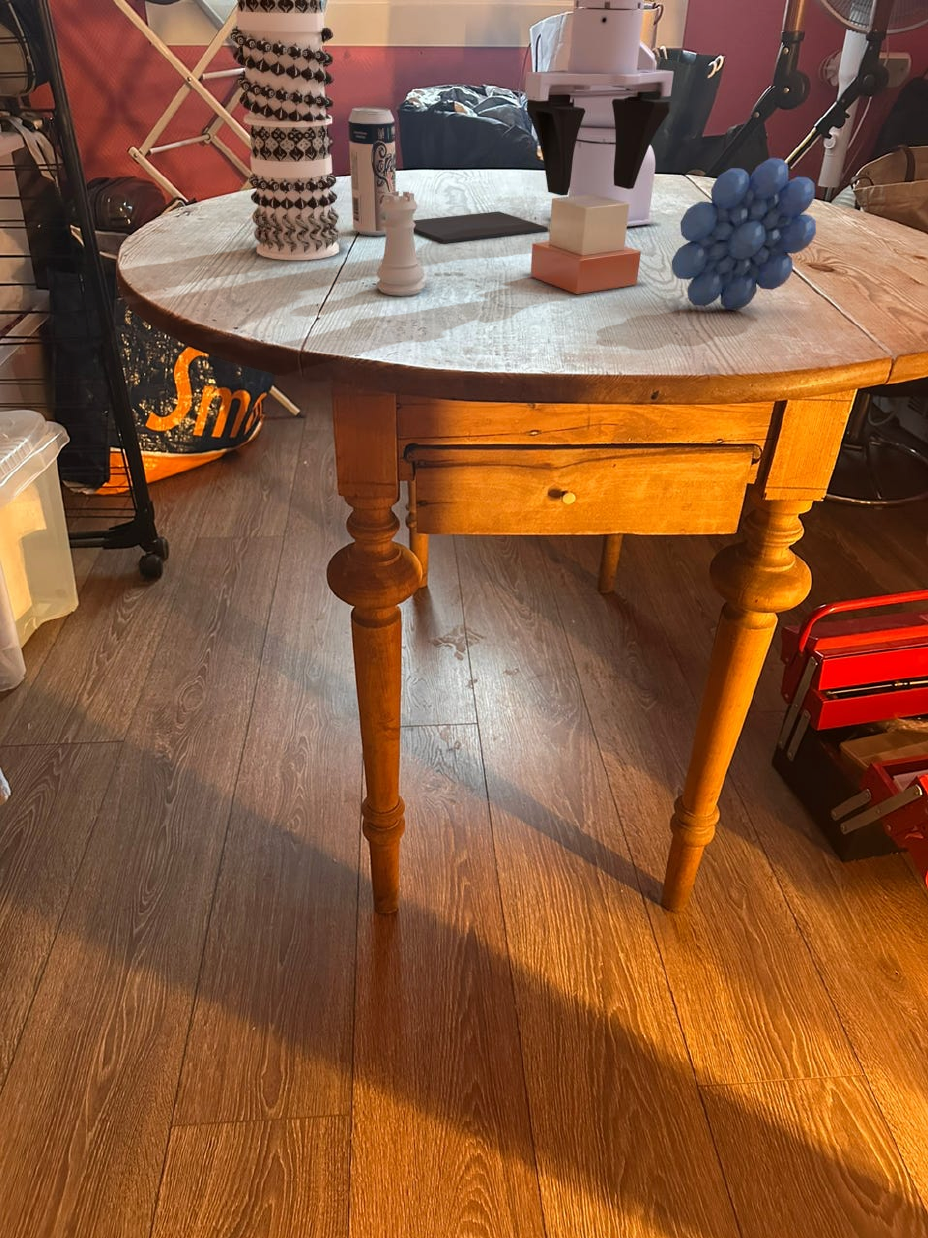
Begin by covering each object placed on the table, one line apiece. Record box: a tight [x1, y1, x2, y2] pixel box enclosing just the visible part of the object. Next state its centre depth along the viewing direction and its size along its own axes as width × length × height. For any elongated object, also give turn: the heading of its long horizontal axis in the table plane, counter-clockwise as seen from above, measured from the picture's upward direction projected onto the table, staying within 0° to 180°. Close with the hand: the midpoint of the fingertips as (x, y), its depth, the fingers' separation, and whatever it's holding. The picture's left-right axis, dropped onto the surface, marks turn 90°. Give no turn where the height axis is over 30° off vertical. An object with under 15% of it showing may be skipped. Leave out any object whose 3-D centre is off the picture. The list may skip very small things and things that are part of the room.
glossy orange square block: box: [529, 240, 642, 295], centre depth 86 cm, size 7×7×3 cm
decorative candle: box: [229, 0, 340, 261], centre depth 87 cm, size 9×9×25 cm
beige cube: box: [548, 194, 629, 256], centre depth 84 cm, size 5×5×4 cm
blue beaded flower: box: [671, 157, 817, 311], centre depth 78 cm, size 12×7×12 cm, turn 91°
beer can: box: [347, 107, 397, 237], centre depth 99 cm, size 5×5×12 cm
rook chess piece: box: [375, 190, 426, 297], centre depth 81 cm, size 4×4×8 cm
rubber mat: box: [413, 211, 549, 244], centre depth 105 cm, size 14×10×1 cm
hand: (591, 190), depth 83 cm, fingers open, 7 cm apart
